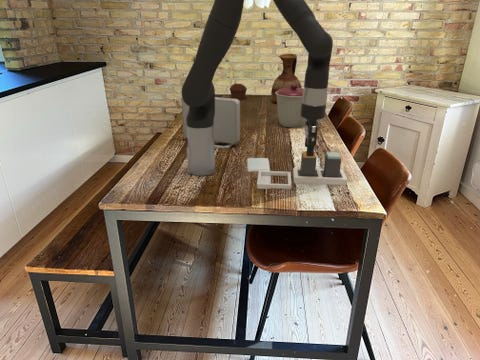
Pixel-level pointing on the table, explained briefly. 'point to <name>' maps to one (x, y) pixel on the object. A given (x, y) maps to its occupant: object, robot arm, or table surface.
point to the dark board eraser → (332, 164)
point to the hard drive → (258, 164)
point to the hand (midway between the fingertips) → (308, 151)
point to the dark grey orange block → (308, 165)
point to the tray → (265, 180)
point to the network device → (221, 120)
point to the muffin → (238, 91)
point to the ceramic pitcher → (286, 75)
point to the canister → (290, 106)
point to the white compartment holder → (319, 178)
